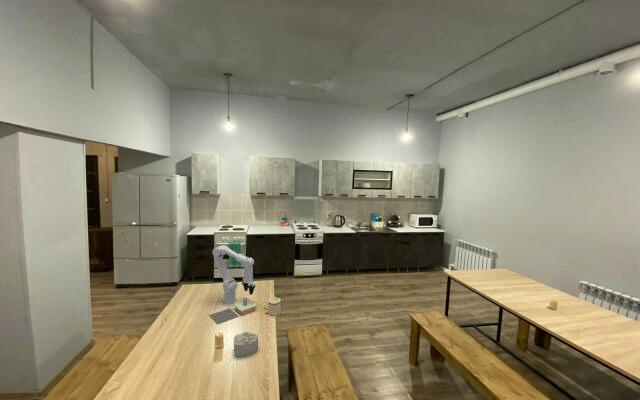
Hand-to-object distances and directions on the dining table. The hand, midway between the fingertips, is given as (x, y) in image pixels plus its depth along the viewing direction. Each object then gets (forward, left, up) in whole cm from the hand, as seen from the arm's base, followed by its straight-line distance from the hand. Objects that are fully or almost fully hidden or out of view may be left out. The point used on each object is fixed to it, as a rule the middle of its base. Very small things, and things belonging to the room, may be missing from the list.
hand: (248, 292), depth 200 cm
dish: (+4, -5, -11) cm, 13 cm away
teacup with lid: (+19, +8, -11) cm, 24 cm away
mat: (+2, -20, -10) cm, 23 cm away
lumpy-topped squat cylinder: (+44, -25, -11) cm, 52 cm away
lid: (+4, -5, -7) cm, 10 cm away
